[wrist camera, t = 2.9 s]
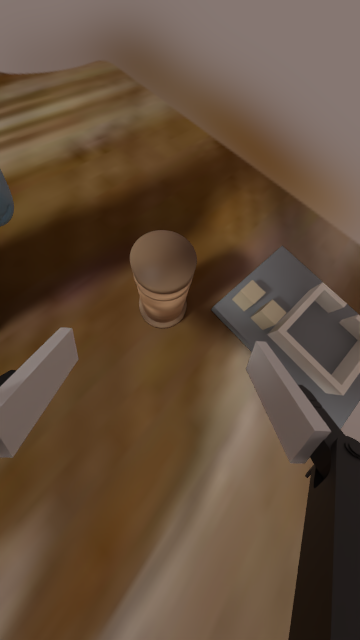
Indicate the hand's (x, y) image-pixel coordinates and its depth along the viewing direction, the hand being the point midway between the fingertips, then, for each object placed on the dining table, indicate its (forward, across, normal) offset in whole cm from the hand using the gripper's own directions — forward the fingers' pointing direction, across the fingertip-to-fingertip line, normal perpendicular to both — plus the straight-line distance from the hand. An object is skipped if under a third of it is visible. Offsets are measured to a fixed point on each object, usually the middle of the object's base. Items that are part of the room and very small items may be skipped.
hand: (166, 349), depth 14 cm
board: (+12, +20, -4) cm, 24 cm away
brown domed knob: (+14, -1, -3) cm, 14 cm away
